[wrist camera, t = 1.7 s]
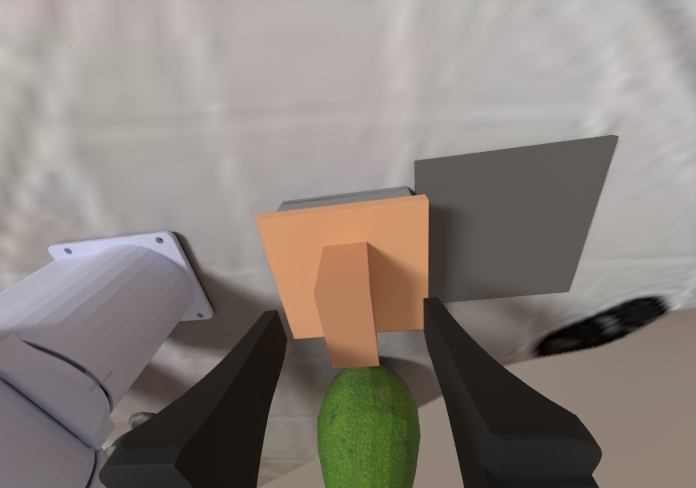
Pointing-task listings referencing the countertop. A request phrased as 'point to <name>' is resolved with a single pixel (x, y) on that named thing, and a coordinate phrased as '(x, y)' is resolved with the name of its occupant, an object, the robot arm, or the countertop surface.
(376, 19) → the countertop surface
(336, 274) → the lid
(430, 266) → the mat
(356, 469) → the avocado
